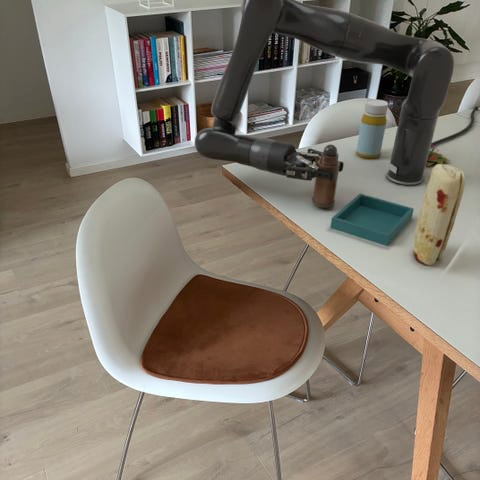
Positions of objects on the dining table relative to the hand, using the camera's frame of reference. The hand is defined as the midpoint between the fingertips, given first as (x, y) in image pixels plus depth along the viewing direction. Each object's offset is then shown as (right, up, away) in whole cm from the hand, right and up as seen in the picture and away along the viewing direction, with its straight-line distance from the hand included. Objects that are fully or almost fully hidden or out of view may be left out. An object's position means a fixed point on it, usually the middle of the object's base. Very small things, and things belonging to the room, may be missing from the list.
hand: (338, 171), depth 121 cm
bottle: (+15, +15, +35) cm, 41 cm away
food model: (+16, -21, -10) cm, 29 cm away
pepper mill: (-3, -6, +6) cm, 9 cm away
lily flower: (+33, +12, +33) cm, 48 cm away
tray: (+8, -12, +1) cm, 15 cm away
